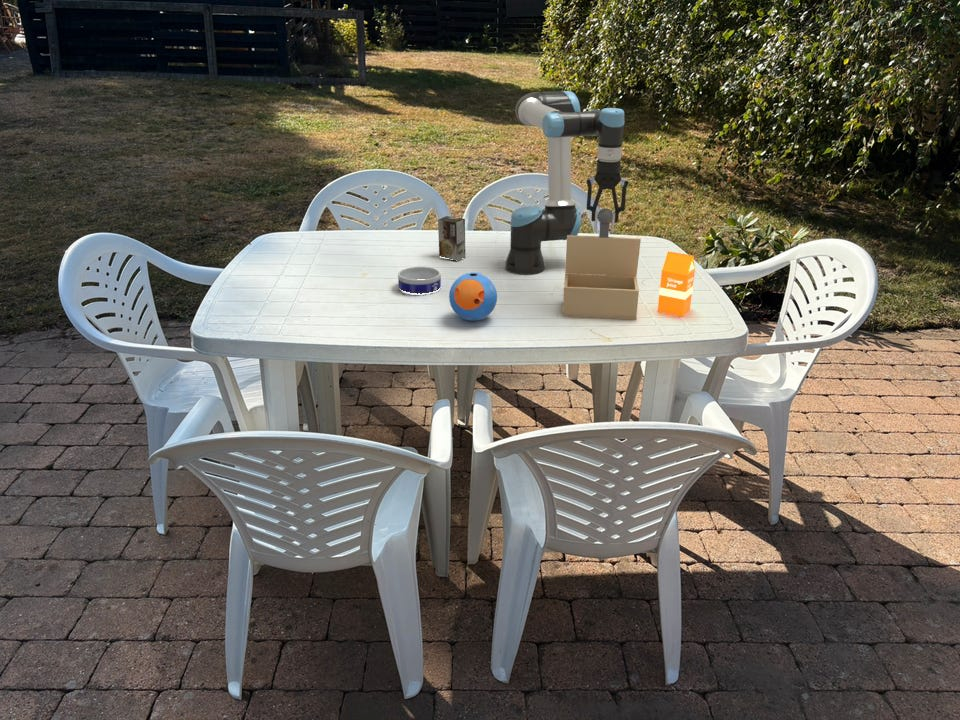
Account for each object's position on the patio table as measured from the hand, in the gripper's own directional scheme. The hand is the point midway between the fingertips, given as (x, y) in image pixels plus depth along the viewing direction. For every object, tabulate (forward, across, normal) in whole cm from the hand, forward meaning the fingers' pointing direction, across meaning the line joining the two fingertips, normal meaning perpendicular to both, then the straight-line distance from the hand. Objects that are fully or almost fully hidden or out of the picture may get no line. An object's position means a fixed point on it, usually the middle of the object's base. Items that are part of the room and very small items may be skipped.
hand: (603, 231), depth 255 cm
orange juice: (+26, +25, -4) cm, 36 cm away
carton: (+25, 0, -7) cm, 26 cm away
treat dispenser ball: (+26, -41, -20) cm, 52 cm away
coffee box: (+26, -58, +42) cm, 76 cm away
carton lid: (+4, 0, -3) cm, 5 cm away
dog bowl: (+26, -64, +6) cm, 69 cm away
